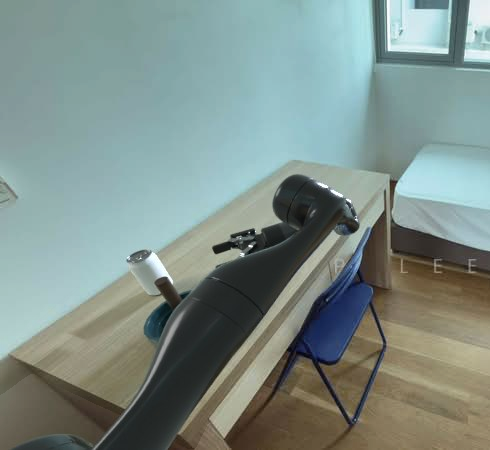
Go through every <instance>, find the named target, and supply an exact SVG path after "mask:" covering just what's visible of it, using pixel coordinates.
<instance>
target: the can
mask: <svg viewBox="0 0 490 450" xmlns="http://www.w3.org/2000/svg"><path fill="white" fill-rule="evenodd" d="M126 263H127V268H128V270H129V271H130V272H131V273H132V275H133V276H134V277H135V279H136V281H137V282H138V283H139V284H140V286H141V287H142V289H143V290H144V291H145V292H146V294H147V295H149V296H160V295H162V294H161V293H160V291H159V290H158V288H157V287H156V285H155V284H154V282H155V281H156V280H157V279H158V278H161V277H168V278H169V280H170V282H171V283H172V285H173V286H174V280H173V278H172V277H171V276H170V274H169V272H168V271H167V269H166V268H165V266H164V265H163V263H162V261H161V260H160V258H159V257H158V254H157V253H155V252H153V251H152V250H151V249H147V248H146V249H140V250H136V251H135V252H133V253H131V254H130V255H129V256H127V258H126Z"/></svg>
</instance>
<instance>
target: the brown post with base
mask: <svg viewBox="0 0 490 450" xmlns="http://www.w3.org/2000/svg"><path fill="white" fill-rule="evenodd" d="M154 284H155V285H156V287H157V288H158V290H159V291H160V293H161V294H160V295H161V296H162V297H163V298H164V300H165V301H167V303H168V304H169V306H170V307H171V308H172V310H173V311H174V310H175V308H176V307H177V306H178V305H179V304H180V303H181V302H182V298H181V297H180V295H179V294H180V293H179V292H178V291H177V289H176V287H175V286H174V284H173V285H172V283H171V282H170V280H169V278H168V277H161V278H158V279H157V280H156V281H155V282H154Z"/></svg>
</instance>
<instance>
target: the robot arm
mask: <svg viewBox="0 0 490 450" xmlns="http://www.w3.org/2000/svg"><path fill="white" fill-rule="evenodd" d="M271 208H272V212H273V214H274V216H275V217H276V218H277V219H278V220H279V221H280V222H277V223H275V224H272V225H269V226H264V227H263V228H261V229H260V233H257V230H256V228H254V227H253V228H249V229H245V230H242V231H241V230H240V231H239V232H234V233H232V234H229V237H230V238H229V239H228V240H227V241H224V242H221V243H217V244H215V245H212V247H211V249H212V252H213V254H214V255H219V254H222V253H225V252H228V251H231V250H232V249H233V250H240V251H241V252H240V253H239V255H238V256H237V257H236V258H235V259H232V260H228V261H226V262H222V263H220V264H217V265H215V267H214V268H215V269H213V270H212V271H210V272H209V274H207V275H206V276H205V277H204V278H203V279H202V280H201V281H200V282H199V283H198V284H197V285H196V286H195V287H194V288H193V289H191V290H192V291H191V292H190V293H189V294H188V295H187V296H186V297H185V298H184V299H183V300H182V302H181V303H180V304H179V305H178V306H177V307H176V308H175V310H174V311H173V312H172V314H171V316H170V317H169V319H168V321H167V323H166V325H165V327H164V330H163V332H162V335H161V337H160V340H159V342H158V345H157V348H155V350H154V353H153V356H152V359H151V361H150V364H149V366H148V369H147V372H146V374H145V377H144V379H143V380H142V383H141V385H140V386H139V388H138V390H137V391H136V393H135V394H134V396H133V398H132V399H131V400H130V402H129V403H128V405H127V406H126V407H125V409H124V410H123V411H122V412H121V414H120V415H119V416H118V418H117V419H116V420H115V421H114V422H113V424H112V425H111V426H110V427H109V428H108V429H107V431H106V432H105V433H104V434H103V435H102V437H101V438H100V439H99V440H98V441H97V442H96V443H95V444H93V443H92V442H90V441H89V440H87V439H86V438H84V437H82V436H80V435H76V434H71V433H53V434H47V435H42V436H37V437H35V438H32V439H30V440H27V441H24V442H21V443H20V444H17V445H15V446H13V447H11V448H9V449H8V450H168V449H169V448H170V446H171V445H172V443H173V442H174V441H175V439H176V437H177V436H178V434H179V432H180V431H181V430H182V428H183V427H184V425H185V424H186V422H187V420H188V419H189V418H190V417H191V415H192V413H193V412H194V411H195V409H196V408H197V407H198V406H199V403H200V402H201V401H202V399H203V398H204V396H205V395H206V394H207V393H208V391H209V390H210V388H211V387H212V385H213V384H214V383H215V381H217V379H218V377H219V376H220V375H221V373H222V372H223V371H224V369H225V368H226V366H227V365H228V364H229V363H230V361H231V360H232V358H233V357H234V356H235V355H236V354H237V353H238V352H239V350H240V349H241V348H242V346H243V345H244V344H245V343H246V341H247V340H248V339H249V338H250V336H251V335H252V334H253V332H254V331H256V329H257V327H258V326H259V324H260V323H261V322H262V321H263V319H264V318H265V316H266V315H267V314H268V312H269V311H270V309H271V308H272V306H274V304H275V303H276V301H277V299H278V298H279V297H280V295H281V294H282V293H283V291H284V290H285V289H286V288H287V286H288V284H289V283H290V282H291V280H292V279H293V278H294V277H295V275H296V274H297V273H298V272H299V270H300V269H301V268H302V267H303V265H304V264H305V263H307V261H308V260H309V259H310V257H311V256H312V255H314V253H315V252H316V251H317V250H318V249H319V247H320V246H321V245H322V244H323V243H324V242H325V241H326V239H328V237H329V236H330V235H331V234H332V233H333V232H334V233H335V234H336V235H338V236H341V237H348V236H351V235H354V234H355V233H356V232H357V231H359V229H360V227H361V221H360V219H359V216H358V214H357V211H356V208H355V206H354V204H353V202H352V200H351V199H350V198H348V197H345V196H344V195H343V194H342V193H341V192H340V191H338V190H336V189H334V188H332V187H330V186H329V185H327V184H325V183H322V182H321V181H319V180H317V179H315V178H313V177H311V176H308V175H305V174H301V173H294V174H291V175H289V176H286V178H285V179H283V180H282V182H280V184H279V185H278V187H277V188H276V191H275V192H274V194H273V198H272V202H271Z"/></svg>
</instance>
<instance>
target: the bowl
mask: <svg viewBox="0 0 490 450" xmlns="http://www.w3.org/2000/svg"><path fill="white" fill-rule="evenodd" d="M192 290H193V289H190V290H185V291H182V292H180V293H178V294H179V295H180V297H181V298H182V300H183V299H184V298H185V297H186V296H187V295H188V294H189V293H190V292H191V291H192ZM172 312H173V310H172V308H171V307H170V306H169V304H168V303H167V301H166V300H165V301H163V302H162V303H160V304H159V305H158V306H157V307H156V308H155V309H153V310H152V312H151V313H150V314H149V315H148V316H147V318H146V320H145V321H144V324H143V326H142V327H143V335H144V336H145V337H146V338H147V340H148V341H149V342H150V343H151V345H152V347H154V348H155V349H156V348H157V345H158V342H159V340H160V337H161V335H162V332H163V330H164V327H165V325H166V323H167V321H168V319H169V317H170V316H171V314H172Z"/></svg>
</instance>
